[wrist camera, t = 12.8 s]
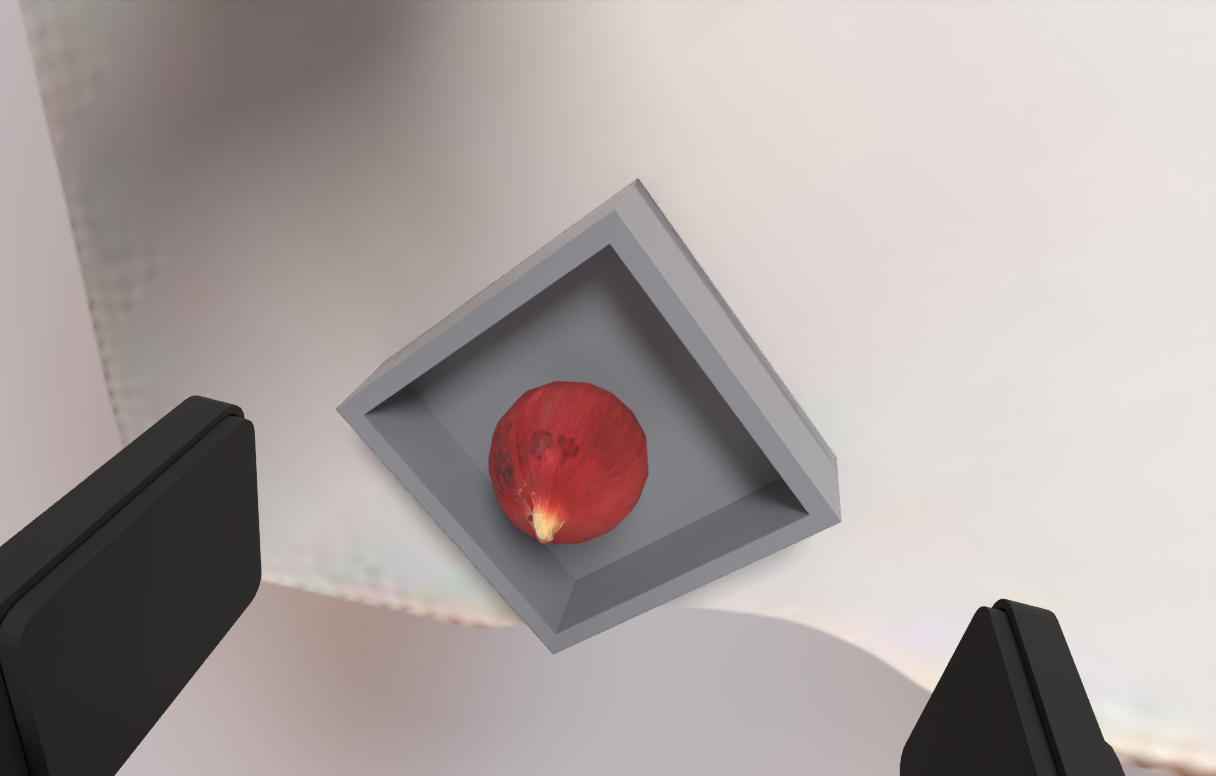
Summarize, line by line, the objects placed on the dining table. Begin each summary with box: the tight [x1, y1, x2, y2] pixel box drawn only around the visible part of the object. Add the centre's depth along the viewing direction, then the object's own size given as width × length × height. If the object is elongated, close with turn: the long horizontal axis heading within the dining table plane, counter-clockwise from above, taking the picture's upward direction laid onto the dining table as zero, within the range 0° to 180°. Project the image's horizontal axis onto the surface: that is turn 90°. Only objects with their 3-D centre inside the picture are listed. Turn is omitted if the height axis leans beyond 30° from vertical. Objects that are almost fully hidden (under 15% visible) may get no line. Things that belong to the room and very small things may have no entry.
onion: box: [488, 381, 649, 545], centre depth 31 cm, size 6×6×8 cm
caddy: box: [336, 179, 841, 654], centre depth 33 cm, size 14×14×4 cm
